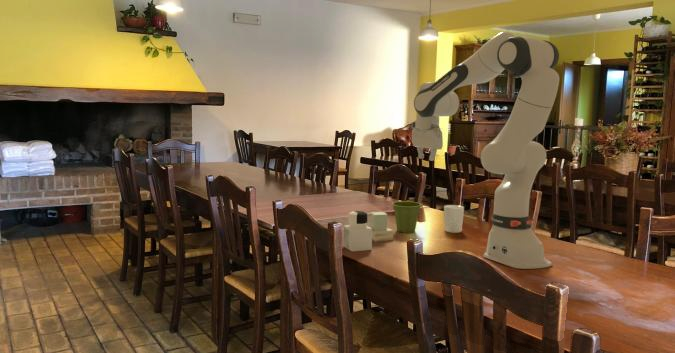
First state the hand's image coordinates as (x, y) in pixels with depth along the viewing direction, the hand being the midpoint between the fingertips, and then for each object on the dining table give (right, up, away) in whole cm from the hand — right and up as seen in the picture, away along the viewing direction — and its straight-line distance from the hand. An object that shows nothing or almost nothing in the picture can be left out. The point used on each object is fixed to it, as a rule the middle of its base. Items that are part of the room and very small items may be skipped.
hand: (426, 159), depth 211 cm
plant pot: (-8, -29, +4) cm, 30 cm away
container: (-28, -32, -24) cm, 49 cm away
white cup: (+12, -29, +5) cm, 32 cm away
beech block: (-20, -31, -9) cm, 37 cm away
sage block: (-20, -27, -10) cm, 34 cm away
